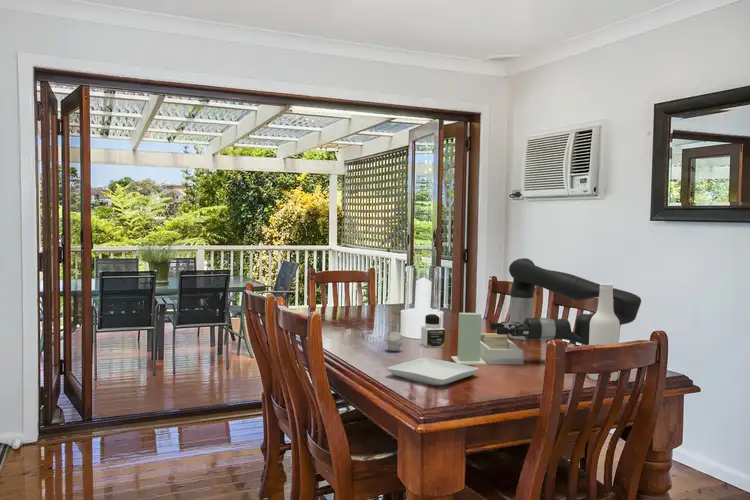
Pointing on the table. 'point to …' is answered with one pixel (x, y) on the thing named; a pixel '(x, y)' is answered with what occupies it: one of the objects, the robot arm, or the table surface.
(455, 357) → the pad
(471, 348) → the board
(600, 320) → the alcohol
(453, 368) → the salad plate
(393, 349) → the frog figurine
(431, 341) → the medicine bottle
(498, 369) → the table surface
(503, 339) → the offcut upper
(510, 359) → the tray
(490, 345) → the offcut lower
